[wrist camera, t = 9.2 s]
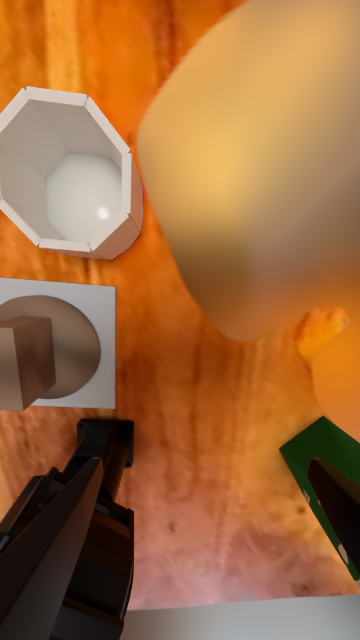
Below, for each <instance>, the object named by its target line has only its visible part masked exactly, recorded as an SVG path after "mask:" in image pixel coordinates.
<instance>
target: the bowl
mask: <svg viewBox="0 0 360 640" xmlns="http://www.w3.org/2000/svg"><path fill="white" fill-rule="evenodd" d="M26 91H27V92H26ZM26 91H25V89H24V88H22V89H21V90H20V91H19V93H18V94H17V95H16V96H15V97H14V99H13V100H12V101H11V102H10V103H9V104H8V106H7V107H6V108H5V109H4V110H3V112H2V113H1V114H0V209H1V210H2V211H3V212H4V213H5V214H6V215H7V216H8V217H9V218H10V219H11V220H12V221H13V222H14V224H15V225H16V226H17V227H18V228H19V229H20V230H21V231H22V232H23V233H24V234H25V235H26V236H27V237H28V238H29V239H30V240H31V241H32V242H33V243H34V244H35V245H36V246H38V247H40V248H43V249H47V250H51V251H55V252H58V253H62V254H66V255H69V256H73V257H83V258H91V259H106V260H111V258H112V259H114V258H115V257H117V256H118V255H120V254H122V253H123V252H125V251H126V250H127V249H128V248H129V247H130V246H131V245H132V244H133V243H134V241H135V240H136V239H137V237H138V236H139V235H140V231H141V232H142V223H143V215H144V210H143V187H142V184H141V181H140V178H139V175H138V172H137V169H136V166H135V163H134V160H133V156H132V153H131V150H130V149H129V147H128V146H127V145H126V143H125V142H124V141H123V139H122V138H121V137H120V136H119V134H118V133H117V132H116V130H115V129H114V128H113V126H112V125H111V124H110V122H109V121H108V120H107V118H106V117H105V116H104V114H103V113H102V112H101V111H100V109H99V108H98V107H97V105H96V104H95V103H94V101H93V100H92V99H91V97H89V98H88V97H87V94H80V93H72V92H65V91H58V90H50V89H43V88H36V87H28V86H26Z"/></svg>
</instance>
